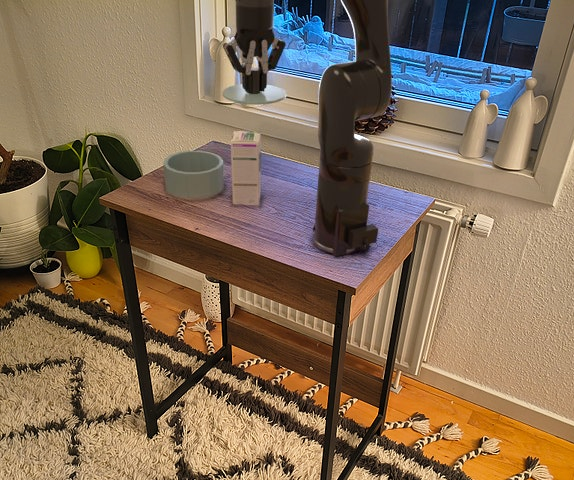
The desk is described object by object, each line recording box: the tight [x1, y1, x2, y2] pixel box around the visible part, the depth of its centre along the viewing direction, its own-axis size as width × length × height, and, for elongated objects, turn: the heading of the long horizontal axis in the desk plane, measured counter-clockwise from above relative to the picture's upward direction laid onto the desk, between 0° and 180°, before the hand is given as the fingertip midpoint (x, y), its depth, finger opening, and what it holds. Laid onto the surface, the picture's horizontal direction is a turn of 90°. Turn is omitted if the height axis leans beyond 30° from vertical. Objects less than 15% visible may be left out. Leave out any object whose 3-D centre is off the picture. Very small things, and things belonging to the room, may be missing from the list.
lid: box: [222, 67, 287, 106], centre depth 123 cm, size 14×14×6 cm
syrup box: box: [230, 130, 262, 206], centre depth 120 cm, size 6×6×14 cm
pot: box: [163, 150, 225, 200], centre depth 127 cm, size 13×13×6 cm
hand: (254, 90), depth 124 cm, fingers closed on lid, 2 cm apart
